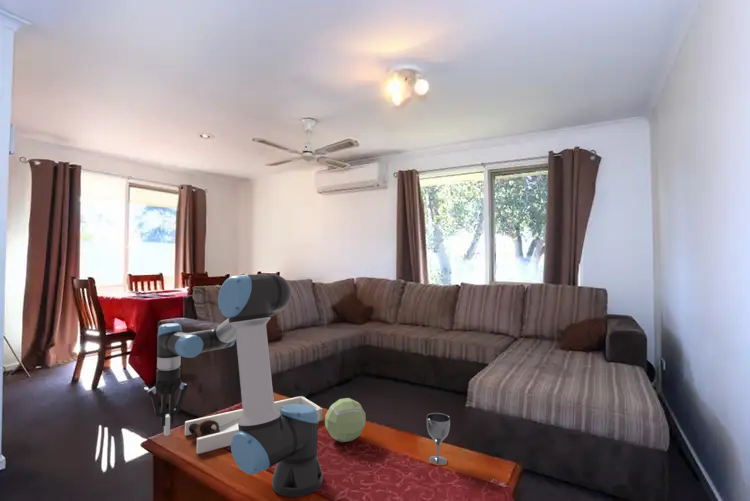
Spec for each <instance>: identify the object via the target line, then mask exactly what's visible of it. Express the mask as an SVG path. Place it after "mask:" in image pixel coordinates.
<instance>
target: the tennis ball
mask: <svg viewBox="0 0 750 501" xmlns="http://www.w3.org/2000/svg"><path fill="white" fill-rule="evenodd" d="M366 414H367V413H366V412H365V410H364V409H363V407H362V404H360V402H358V401H357V400H354V399H352V398H350V397H345V398H339V399H338V400H336V401H335V402H334V403H332V404H331V405H330V406H329V408H328V410H327V411H326V414H325V415H324V426H325V429H326V430H327V432H328V435H329V436H330V437H331V438H332V439H334V440H335V441H337V442H340V443H347V442H352V441H354V440H355V439H357V438H359V437H360V436H361V435H362V432H363V430H364V428H365V425H366V420H367V417H366Z"/></svg>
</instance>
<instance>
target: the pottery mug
mask: <svg viewBox="0 0 750 501" xmlns="http://www.w3.org/2000/svg"><path fill="white" fill-rule="evenodd" d="M214 424H215V425H216V427H217V428H216V429H212V428H211V427H212V425H214ZM188 429H189V431H190V433H191V435H192V436H193V437H194V439H197V438H199V437H203V436H207V435H211V434H215V433H219V432H220V430H219V425H218V423H217V422H216V421H213V420H205V421H203V422H201V423H200V424H196V423H193V424H191V425H190V426H189V428H188Z"/></svg>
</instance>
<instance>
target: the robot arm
mask: <svg viewBox="0 0 750 501" xmlns="http://www.w3.org/2000/svg"><path fill="white" fill-rule="evenodd" d="M291 298H292V289H291V286H290V284H289V282H288V281H287V279H285V278H284V277H283V276H281V275H278V274H275V273H267V274H264V273H263V274H260V273H259V274H255V273H254V274H245V273H244V274H237V275H233V276H229V277H228V278H226V279H225V280H224V282H223V283H222V286H221V287H220V289H219V292H218V297H217V304H218V310H219V312H220V313H221V315H222V316H224V317H225V318H227V319H225V320H224V321H222V323H220V324H219V325H217V326H216V327H215V328H211V329H204V330H199V331H193V332H183V329H182V325H181V324H180V323H176V322H174V323H173V322H172V323H162V324H161V325H159V326H158V327H157V328H158V330H157V334H156V335H157V336H156V337H157V345H156V346H157V351H156V352H157V354H156V355H157V356H156V357H157V358H156V360H157V361H156V362H157V363H156V368H157V369H156V382H155V383H154V386H153V387H151V388H149V389H147V390H146V392H147V393H148V395H149V397H150V399H151V402H152V407H153V409H154V415H155V416H156V417H157V418H158V417H159V418H160V425H161V427H163V435H164V436H165V437H166V436H170V435H171V425H173V424H174V416H175V414H178V413H179V412H180V411H181V406H182V403H183V400H184V397H185V396H184V395H185V392H186V391H187V390H188V388H189V385H188V384H187V383H186V382H185V383H184V382H182V380H181V367H180V366H181V364H182V363H181V357H182V358H183V357H184V358H189V359H190V358H195V357H197V356H198V355H200V354H202V353H206V352H212V351H216V350H217V351H218V350H222V349H223V350H224V349H227V348H230V347H233V346H234V345H235V342H236V351H237V352H236V353H237V360H238V372H239V373H238V374H239V384H240V394H241V404H242V405H241V406H242V409H243V416H242V418H241V419H240V420H239V422H238V427H239V432H237V433H236V434H235V435H234V436H233V438H232V440H231V445H230V450H231V455H232V457H233V461H234V462H235V464H236V465H237V466H238V468H239V469H240V470H241V471H242V472H244V473H245V474H247V475H256V474H259V473H261V472H264V471H267V470H268V469H269V468H271V467H272V466H275V468H274V472H273V475H272V480H271V481H272V482H271V487H272V490H273V491H274V492H275V493H276V494H278V495H280V496H282V497H286V498H299V497H305V496H308V495H310V494H313V493H314V492H316V491H317V490H319V489H320V488H321V486H322V483H323V472H322V470H323V469H322V468H321V464H320V461H319V459H318V441H319V440H318V438H319V436H318V431H319V421H318V413H317V411H316V409H315V408H313V407H311V406H308V405H302V404H289V405H284V406H282V407H281V408H280V411H279V412H278V411H277V410H276V409H275V407H274V402H275V399H274V390H273V380H272V378H273V377H272V370H271V369H272V368H271V360H270V352H269V351H270V350H269V342H268V333H267V332H268V330H267V324H268V323H269V321H270V320H271V318H272V316H276V315H277V314H278V313H280V312H281V311H282V310H284V309H286V307H288V305H289V304H290V301H291ZM178 389H179V392H178V396H177V398H176V402H175V397H176V396H175V395H176V391H177V390H178ZM157 392H158V393H159V394H160V395H161V396H160V398H161V399H160V408H159V404H158V400H157V397H156V396H157V395H156V393H157ZM167 397H168V398H167ZM167 399H169V400H168V413H167Z"/></svg>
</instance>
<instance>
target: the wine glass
mask: <svg viewBox="0 0 750 501" xmlns="http://www.w3.org/2000/svg"><path fill="white" fill-rule="evenodd" d="M450 417H451V416H449V415H448V414H445V413H441V412H432V413H431V412H430V413H428V414H427V415H426V429H427V433H428V435H429V436H430V437H431V438H432V440H433V441H434V444H435V448H436V455H432V456H429V457H430V458H429V457H428V458H429V461H430V462H433V463H435V464H439V465H441V464H442V465H443V464H446V463H447V460H448V459H447V458H446V457H444V456H440V446H441V444H442V442H443V441H444V440H445V439H446V438H447V437H448V435H449V432H450V428H451V418H450Z"/></svg>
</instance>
